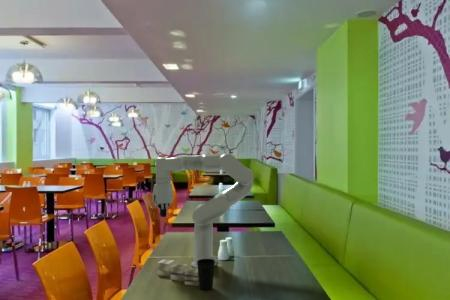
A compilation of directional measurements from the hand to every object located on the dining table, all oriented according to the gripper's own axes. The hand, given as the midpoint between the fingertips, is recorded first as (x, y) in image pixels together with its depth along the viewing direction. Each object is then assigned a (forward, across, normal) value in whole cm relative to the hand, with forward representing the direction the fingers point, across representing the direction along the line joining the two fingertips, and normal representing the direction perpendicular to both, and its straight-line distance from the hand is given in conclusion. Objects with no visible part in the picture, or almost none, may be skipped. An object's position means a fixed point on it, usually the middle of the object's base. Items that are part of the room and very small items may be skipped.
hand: (163, 216), depth 219 cm
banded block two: (+25, +5, +33) cm, 42 cm away
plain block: (+25, +7, +13) cm, 29 cm away
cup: (+25, +6, +42) cm, 50 cm away
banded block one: (+25, +6, +23) cm, 35 cm away
